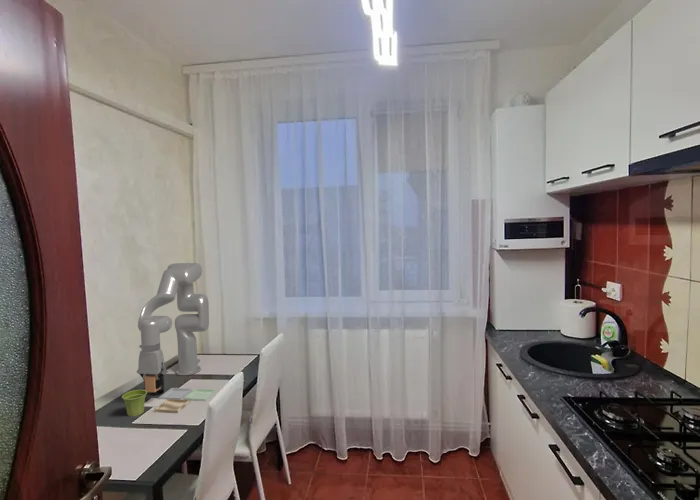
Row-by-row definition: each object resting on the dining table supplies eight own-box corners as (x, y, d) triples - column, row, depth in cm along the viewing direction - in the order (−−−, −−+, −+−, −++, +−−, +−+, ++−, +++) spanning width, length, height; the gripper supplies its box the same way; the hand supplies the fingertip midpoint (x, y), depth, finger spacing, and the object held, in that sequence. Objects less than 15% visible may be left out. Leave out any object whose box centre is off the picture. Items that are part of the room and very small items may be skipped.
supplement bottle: (158, 397, 190) (157, 372, 189) (145, 396, 191) (144, 371, 190) (168, 391, 197) (166, 367, 196) (155, 390, 198) (154, 366, 197)
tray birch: (168, 402, 184) (168, 399, 184) (190, 403, 183) (190, 399, 183) (154, 413, 174) (154, 409, 174) (177, 414, 173) (177, 410, 173)
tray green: (195, 391, 196) (194, 388, 195) (216, 392, 194) (215, 389, 194) (183, 401, 185) (183, 398, 185) (205, 402, 184) (205, 399, 184)
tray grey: (171, 390, 197) (171, 387, 197) (192, 391, 196) (192, 388, 196) (158, 400, 187) (158, 397, 186) (180, 401, 185) (180, 398, 185)
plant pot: (153, 410, 177) (152, 391, 176) (135, 420, 168) (133, 400, 167) (136, 407, 180) (135, 388, 179) (118, 417, 171) (116, 397, 170)
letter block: (145, 392, 181) (144, 376, 180) (151, 387, 185) (150, 372, 185) (154, 392, 180) (154, 376, 180) (160, 388, 185) (160, 372, 184)
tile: (151, 399, 188) (151, 398, 188) (167, 400, 187) (167, 398, 187) (140, 407, 180) (140, 405, 180) (157, 407, 179) (157, 406, 179)
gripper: (127, 349, 179) (130, 390, 180) (163, 350, 177) (165, 391, 178) (138, 344, 186) (140, 383, 187) (173, 345, 184) (175, 384, 185)
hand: (153, 387), depth 183 cm, fingers closed on letter block, 4 cm apart
